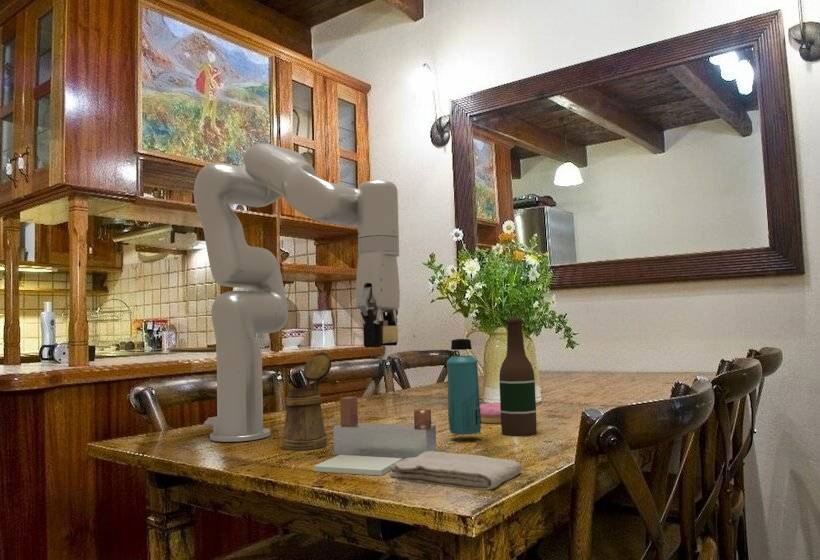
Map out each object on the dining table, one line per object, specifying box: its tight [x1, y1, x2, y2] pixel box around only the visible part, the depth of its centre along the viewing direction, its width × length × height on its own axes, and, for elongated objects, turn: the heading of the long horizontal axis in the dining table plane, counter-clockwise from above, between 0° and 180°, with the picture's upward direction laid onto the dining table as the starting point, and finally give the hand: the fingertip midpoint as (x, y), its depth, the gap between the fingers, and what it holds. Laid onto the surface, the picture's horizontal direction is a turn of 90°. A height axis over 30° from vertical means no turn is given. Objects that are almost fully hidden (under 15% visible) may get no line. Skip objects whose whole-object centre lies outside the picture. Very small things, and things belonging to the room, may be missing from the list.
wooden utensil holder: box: [281, 351, 333, 451], centre depth 127 cm, size 9×14×18 cm, turn 162°
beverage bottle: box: [446, 338, 482, 435], centre depth 127 cm, size 6×7×20 cm
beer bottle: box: [499, 316, 538, 437], centre depth 132 cm, size 8×8×24 cm
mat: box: [312, 455, 404, 476], centre depth 104 cm, size 12×9×1 cm
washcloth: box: [388, 451, 522, 491], centre depth 96 cm, size 12×18×3 cm, turn 58°
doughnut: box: [480, 401, 501, 425], centre depth 148 cm, size 11×11×4 cm
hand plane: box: [332, 396, 437, 459], centre depth 114 cm, size 18×5×10 cm, turn 68°
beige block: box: [362, 320, 399, 345], centre depth 115 cm, size 4×6×4 cm, turn 159°
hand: (381, 345), depth 115 cm, fingers closed on beige block, 6 cm apart
